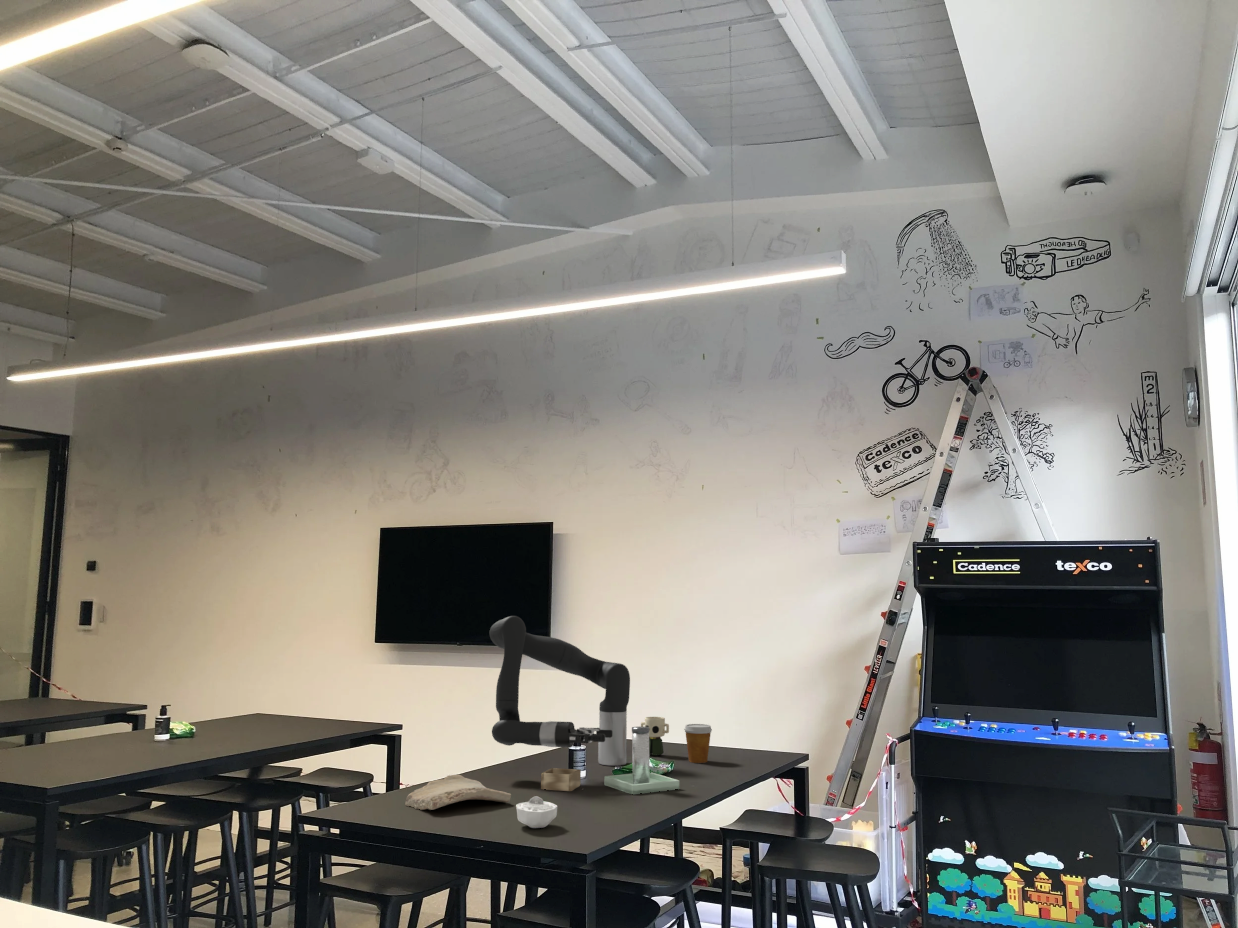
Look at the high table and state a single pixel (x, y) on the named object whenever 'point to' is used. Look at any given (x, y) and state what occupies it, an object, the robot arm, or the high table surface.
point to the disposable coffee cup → (698, 742)
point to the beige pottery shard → (452, 793)
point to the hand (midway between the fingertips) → (608, 735)
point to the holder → (560, 779)
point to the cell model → (536, 812)
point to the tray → (655, 784)
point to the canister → (640, 755)
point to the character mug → (656, 733)
